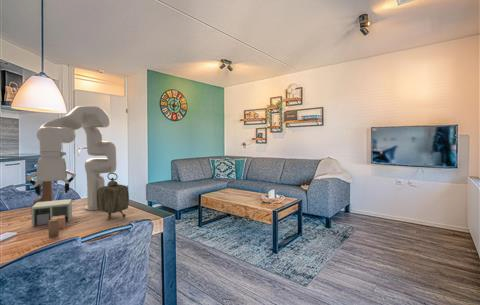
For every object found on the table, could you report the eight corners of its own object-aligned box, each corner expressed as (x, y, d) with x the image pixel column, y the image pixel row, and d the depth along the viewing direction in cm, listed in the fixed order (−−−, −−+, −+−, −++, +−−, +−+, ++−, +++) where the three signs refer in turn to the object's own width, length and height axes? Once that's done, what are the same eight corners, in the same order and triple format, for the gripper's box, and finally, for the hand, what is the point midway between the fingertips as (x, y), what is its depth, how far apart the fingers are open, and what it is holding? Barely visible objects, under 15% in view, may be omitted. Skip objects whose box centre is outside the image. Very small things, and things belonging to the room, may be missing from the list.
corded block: (65, 224, 121) (65, 211, 120) (60, 236, 106) (59, 220, 106) (53, 226, 118) (52, 212, 118) (45, 238, 103) (45, 222, 103)
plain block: (51, 220, 127) (50, 211, 127) (49, 223, 123) (49, 213, 123) (39, 222, 125) (38, 212, 125) (36, 225, 121) (36, 215, 120)
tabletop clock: (129, 216, 134) (128, 172, 133) (116, 221, 126) (115, 174, 125) (109, 214, 139) (108, 171, 138) (95, 218, 130) (94, 173, 129)
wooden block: (33, 207, 152) (32, 179, 151) (35, 206, 156) (34, 178, 155) (51, 206, 156) (50, 178, 156) (52, 204, 160) (51, 177, 160)
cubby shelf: (71, 215, 136) (71, 199, 136) (69, 221, 126) (69, 203, 125) (37, 219, 128) (36, 202, 128) (32, 226, 118) (31, 207, 118)
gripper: (75, 154, 112) (77, 189, 114) (27, 155, 104) (29, 194, 105) (74, 155, 106) (75, 193, 107) (22, 156, 97) (25, 197, 98)
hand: (53, 193), depth 106 cm, fingers open, 9 cm apart
